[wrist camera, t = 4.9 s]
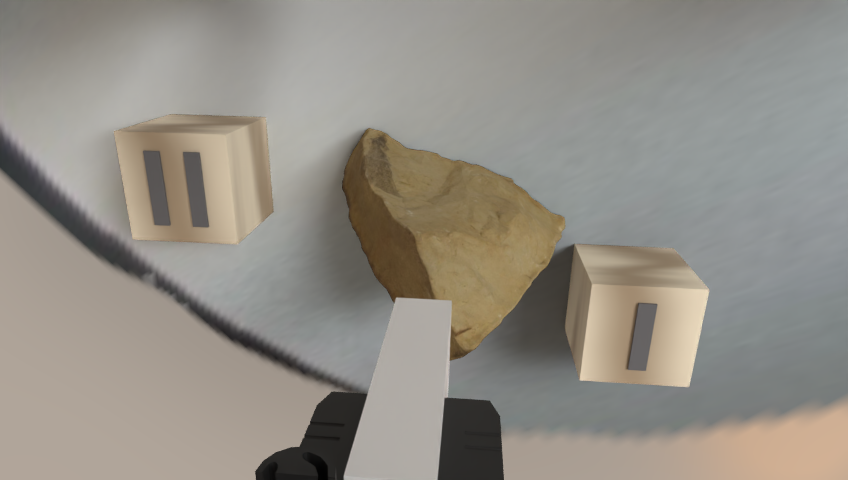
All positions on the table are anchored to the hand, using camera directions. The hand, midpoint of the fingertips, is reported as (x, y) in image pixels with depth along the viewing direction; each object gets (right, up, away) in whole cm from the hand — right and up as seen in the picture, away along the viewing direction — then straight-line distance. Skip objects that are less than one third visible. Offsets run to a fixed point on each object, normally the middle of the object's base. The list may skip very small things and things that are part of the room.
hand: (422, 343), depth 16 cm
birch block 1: (-10, +7, +14) cm, 19 cm away
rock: (+1, +5, +14) cm, 15 cm away
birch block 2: (+10, 0, +15) cm, 18 cm away
